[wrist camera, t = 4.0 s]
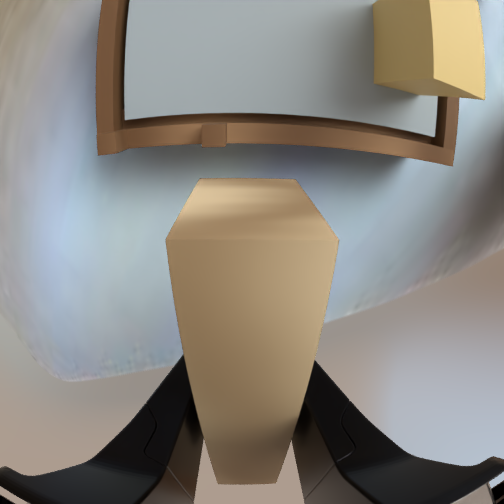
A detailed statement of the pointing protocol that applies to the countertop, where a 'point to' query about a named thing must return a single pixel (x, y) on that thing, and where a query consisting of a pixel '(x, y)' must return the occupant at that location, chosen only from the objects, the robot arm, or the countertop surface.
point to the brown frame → (244, 116)
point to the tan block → (250, 314)
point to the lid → (304, 58)
